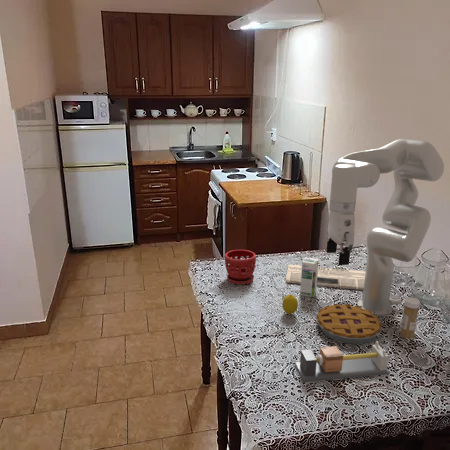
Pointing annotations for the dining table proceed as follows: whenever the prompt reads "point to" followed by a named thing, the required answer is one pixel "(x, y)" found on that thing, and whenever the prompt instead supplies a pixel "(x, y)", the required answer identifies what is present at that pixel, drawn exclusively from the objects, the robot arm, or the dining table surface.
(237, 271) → the plant pot
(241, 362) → the dining table surface
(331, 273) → the newspaper
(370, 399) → the dining table surface
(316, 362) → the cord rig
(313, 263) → the syrup box
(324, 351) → the sleeve
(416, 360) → the dining table surface
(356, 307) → the pie
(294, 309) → the lemon
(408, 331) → the sprinkles bottle
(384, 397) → the dining table surface
